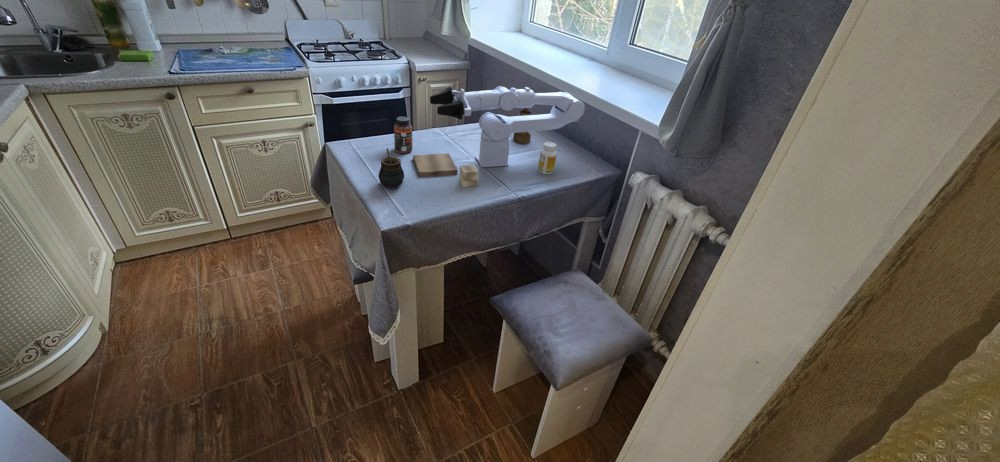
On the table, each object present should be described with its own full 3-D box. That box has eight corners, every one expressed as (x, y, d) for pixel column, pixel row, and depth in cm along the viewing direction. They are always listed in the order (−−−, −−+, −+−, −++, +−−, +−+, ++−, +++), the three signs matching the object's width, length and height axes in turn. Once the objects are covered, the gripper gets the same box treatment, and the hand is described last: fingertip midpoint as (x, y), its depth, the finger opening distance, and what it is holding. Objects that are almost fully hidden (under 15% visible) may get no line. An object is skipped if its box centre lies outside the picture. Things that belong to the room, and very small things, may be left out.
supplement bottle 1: (408, 155, 144) (408, 123, 138) (391, 152, 145) (390, 120, 138) (415, 148, 149) (414, 117, 142) (398, 145, 150) (397, 114, 143)
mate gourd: (385, 193, 123) (383, 161, 118) (374, 181, 128) (372, 150, 122) (408, 187, 127) (407, 156, 121) (397, 176, 132) (395, 146, 126)
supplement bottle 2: (554, 169, 146) (560, 143, 141) (551, 176, 142) (556, 149, 137) (539, 165, 148) (544, 139, 142) (535, 172, 143) (540, 145, 138)
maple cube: (473, 179, 135) (474, 164, 133) (477, 186, 132) (478, 171, 129) (459, 180, 134) (460, 165, 131) (463, 187, 131) (463, 172, 128)
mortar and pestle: (530, 144, 162) (537, 97, 151) (513, 142, 161) (519, 95, 151) (529, 137, 167) (536, 91, 157) (513, 135, 167) (518, 89, 156)
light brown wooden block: (448, 158, 146) (448, 153, 145) (457, 175, 137) (457, 169, 136) (413, 160, 142) (413, 155, 141) (419, 178, 133) (419, 172, 132)
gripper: (469, 79, 134) (426, 82, 130) (486, 97, 124) (440, 102, 120) (468, 101, 139) (427, 105, 134) (484, 120, 129) (441, 125, 124)
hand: (433, 105), depth 127 cm, fingers open, 7 cm apart
